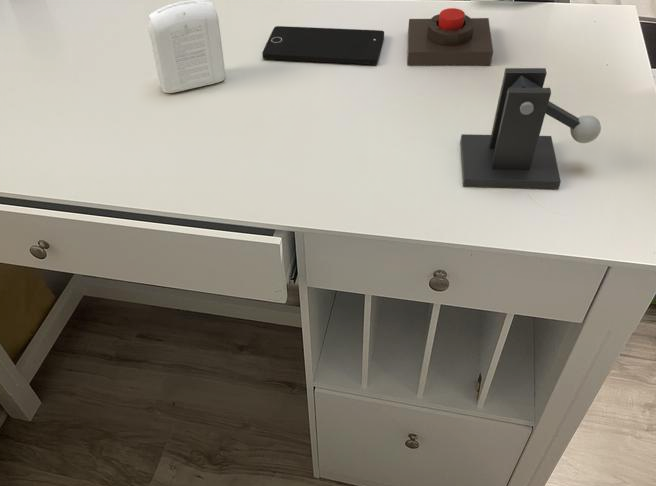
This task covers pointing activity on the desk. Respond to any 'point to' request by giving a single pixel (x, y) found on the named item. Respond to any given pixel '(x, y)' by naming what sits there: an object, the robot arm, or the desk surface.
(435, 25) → the brown button base
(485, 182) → the pivot bracket stand
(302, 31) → the cell phone
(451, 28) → the power button
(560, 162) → the desk surface
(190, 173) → the desk surface
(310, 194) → the desk surface
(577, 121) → the lever switch
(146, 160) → the desk surface
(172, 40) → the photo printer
